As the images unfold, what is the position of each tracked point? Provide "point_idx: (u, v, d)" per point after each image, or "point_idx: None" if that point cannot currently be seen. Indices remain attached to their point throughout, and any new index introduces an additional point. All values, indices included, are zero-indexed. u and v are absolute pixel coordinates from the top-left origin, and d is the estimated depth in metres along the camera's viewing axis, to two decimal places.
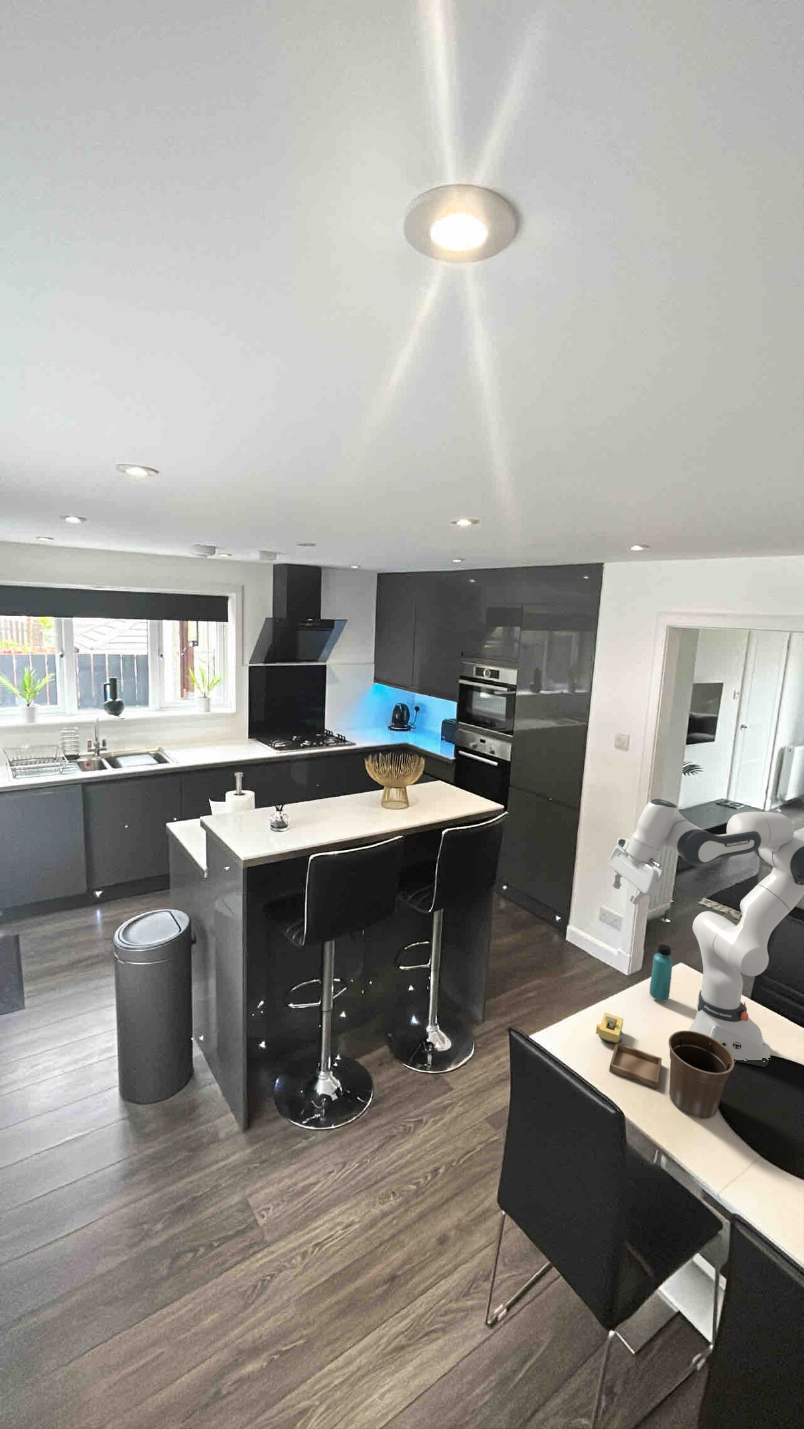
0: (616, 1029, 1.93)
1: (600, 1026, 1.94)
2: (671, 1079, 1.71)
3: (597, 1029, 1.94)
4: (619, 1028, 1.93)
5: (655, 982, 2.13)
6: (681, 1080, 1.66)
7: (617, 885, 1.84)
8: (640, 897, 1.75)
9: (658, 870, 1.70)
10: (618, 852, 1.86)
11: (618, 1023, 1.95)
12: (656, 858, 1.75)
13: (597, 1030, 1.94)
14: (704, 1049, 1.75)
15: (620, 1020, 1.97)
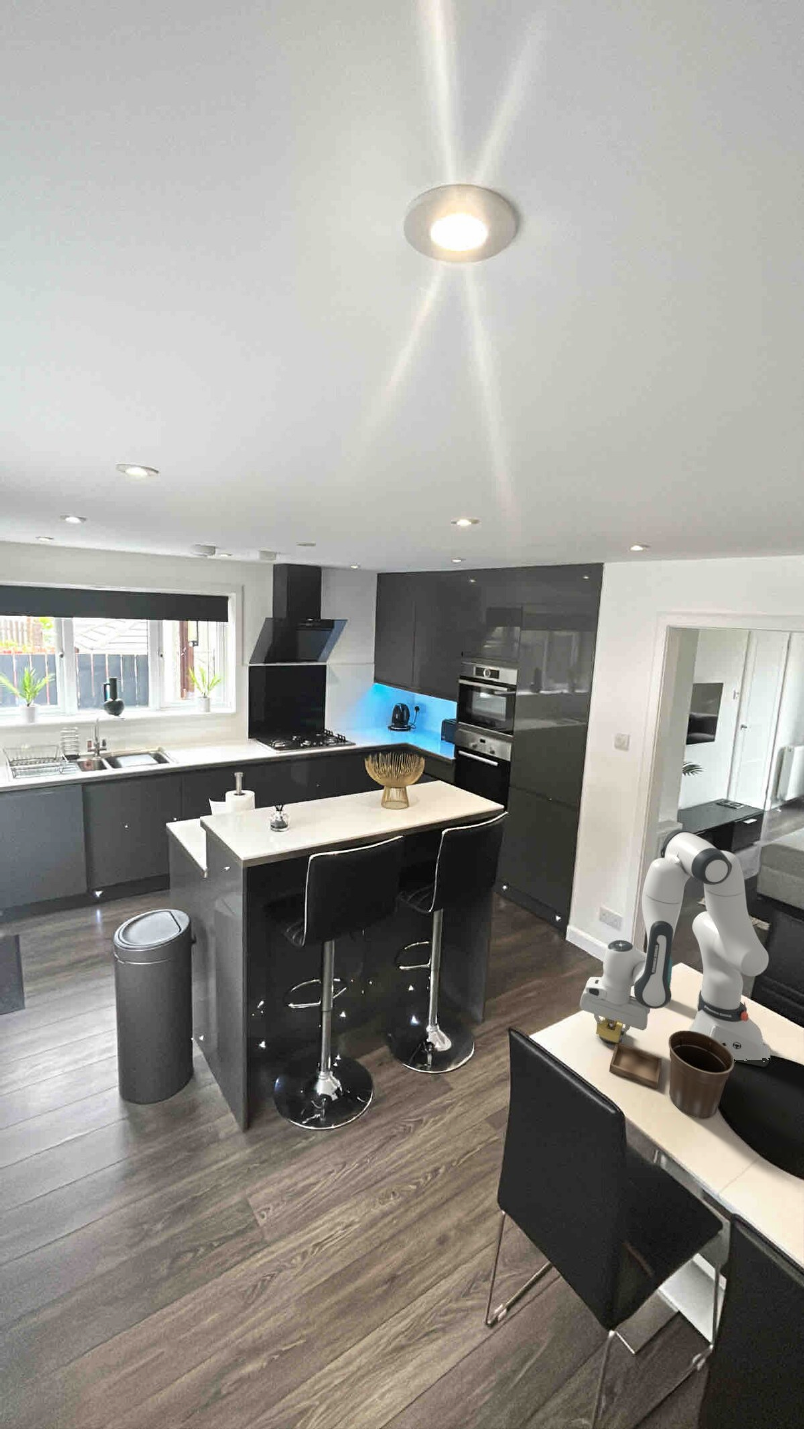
0: (616, 1029, 1.93)
1: (600, 1026, 1.94)
2: (671, 1079, 1.71)
3: (597, 1029, 1.94)
4: (619, 1028, 1.93)
5: None
6: (681, 1080, 1.66)
7: None
8: None
9: (645, 1006, 1.89)
10: (589, 997, 1.95)
11: (618, 1023, 1.95)
12: None
13: (597, 1030, 1.94)
14: (704, 1049, 1.75)
15: None
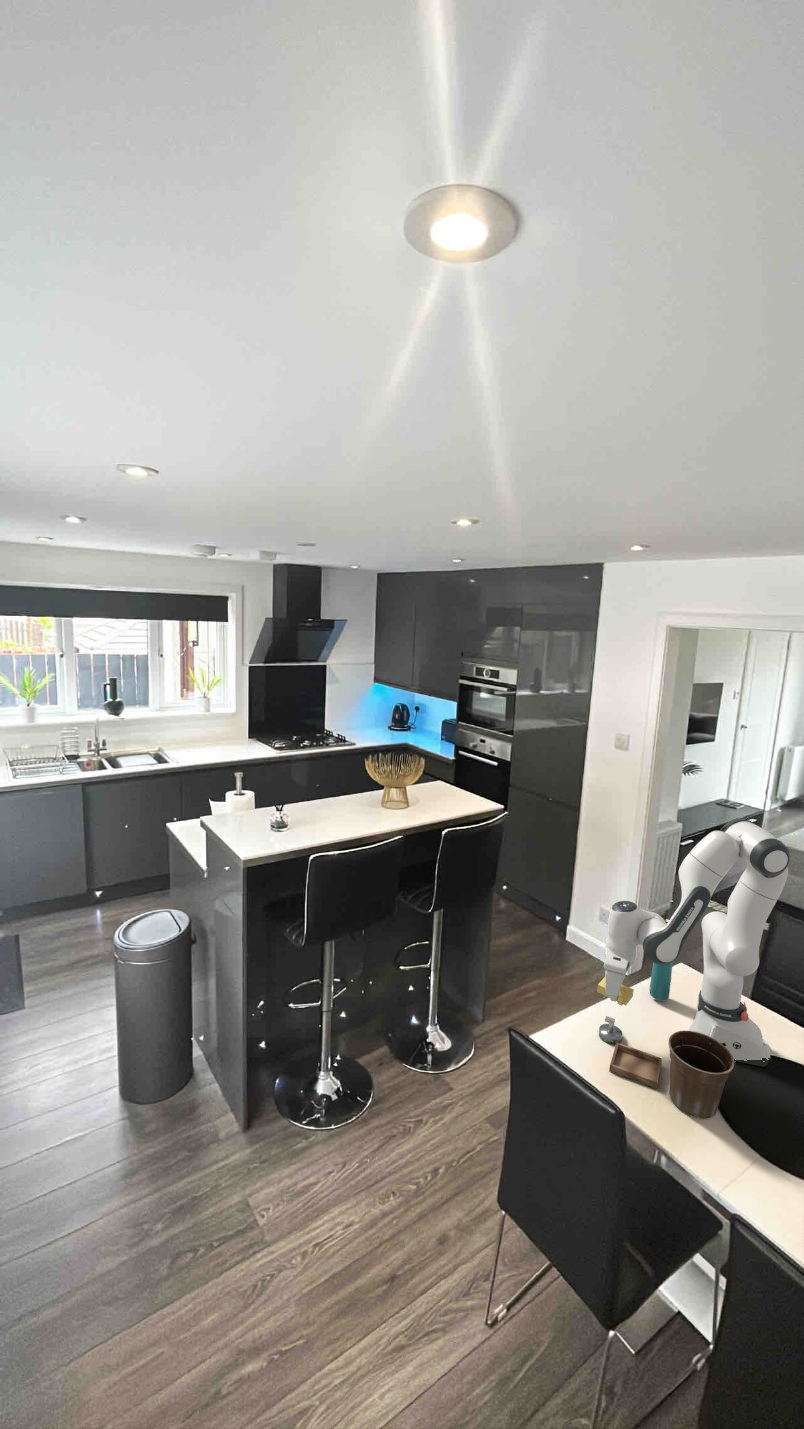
0: (624, 987, 1.93)
1: (622, 995, 1.89)
2: (671, 1079, 1.71)
3: (622, 1000, 1.88)
4: (622, 984, 1.94)
5: (655, 982, 2.13)
6: (681, 1080, 1.66)
7: None
8: None
9: None
10: None
11: None
12: None
13: (622, 1001, 1.88)
14: (704, 1049, 1.75)
15: None
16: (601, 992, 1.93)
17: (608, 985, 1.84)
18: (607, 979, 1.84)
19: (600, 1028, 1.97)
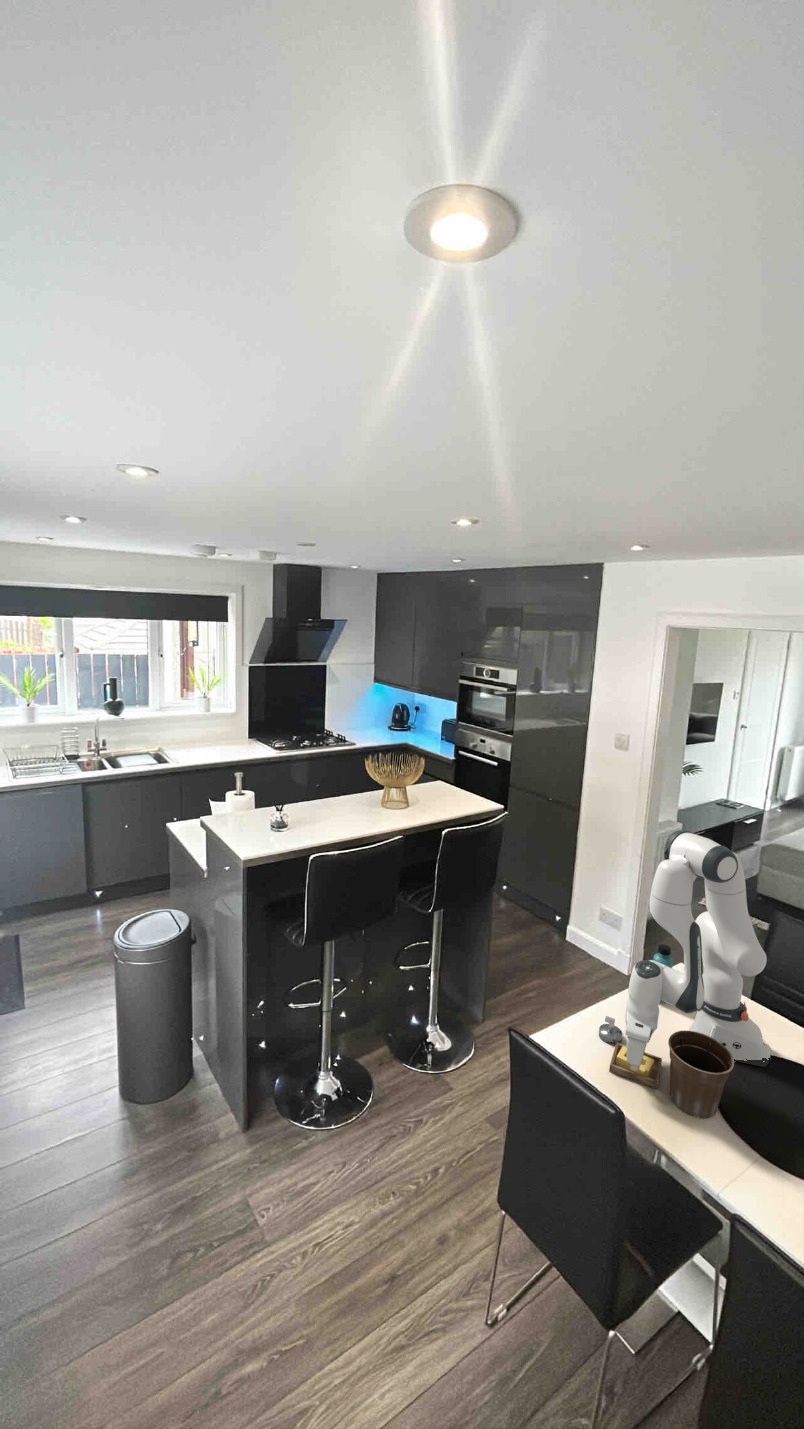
0: (643, 1057, 1.83)
1: (643, 1068, 1.79)
2: (671, 1079, 1.71)
3: (644, 1074, 1.78)
4: None
5: None
6: (681, 1080, 1.66)
7: None
8: None
9: None
10: None
11: None
12: None
13: (644, 1075, 1.78)
14: (704, 1049, 1.75)
15: None
16: (620, 1064, 1.83)
17: (630, 1053, 1.73)
18: (629, 1047, 1.73)
19: (600, 1028, 1.97)
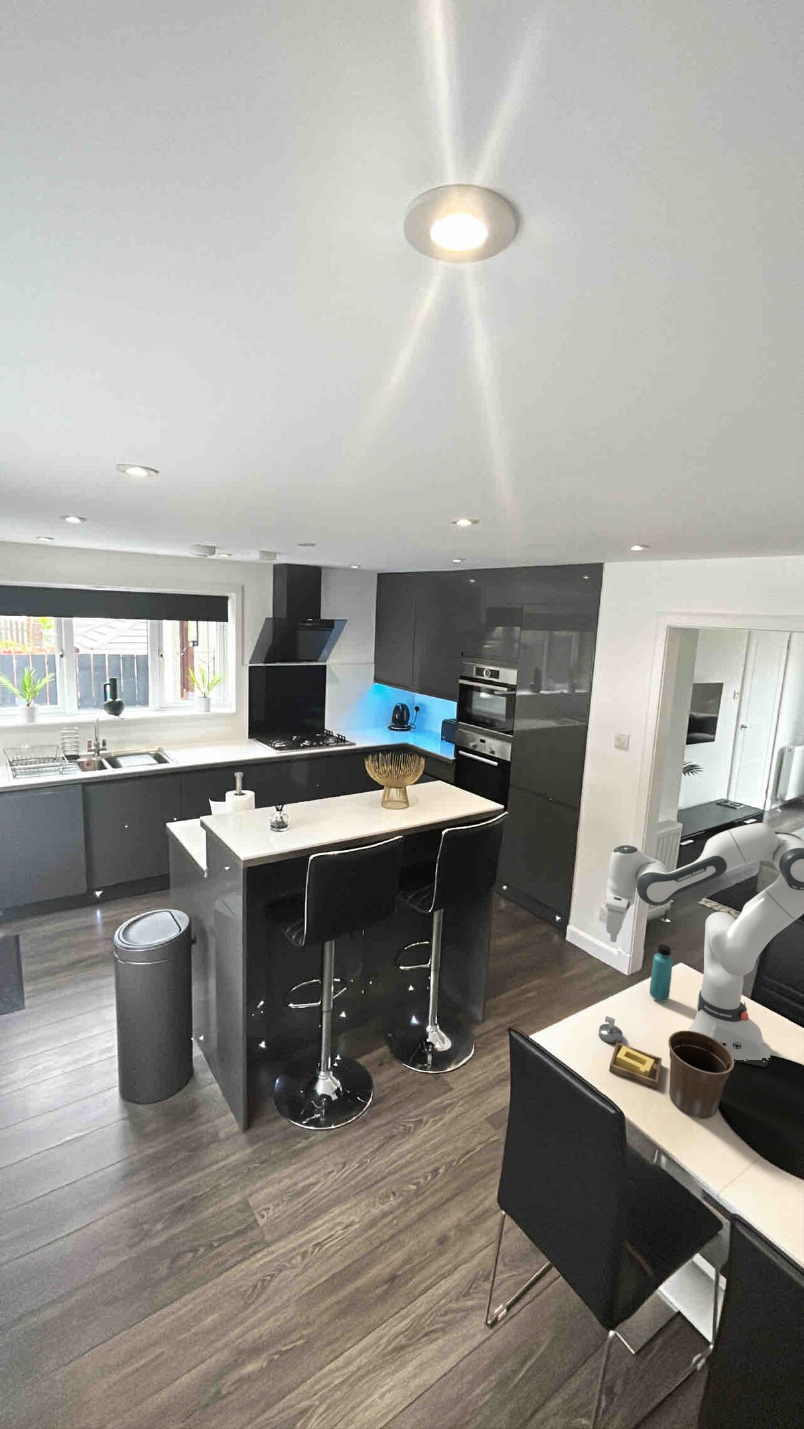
0: (643, 1057, 1.83)
1: (643, 1068, 1.79)
2: (671, 1079, 1.71)
3: (644, 1074, 1.78)
4: (641, 1055, 1.84)
5: (655, 982, 2.13)
6: (681, 1080, 1.66)
7: None
8: None
9: None
10: None
11: (633, 1052, 1.85)
12: None
13: (644, 1075, 1.78)
14: (704, 1049, 1.75)
15: (627, 1049, 1.86)
16: (620, 1064, 1.83)
17: (609, 923, 1.92)
18: (608, 918, 1.92)
19: (600, 1028, 1.97)
